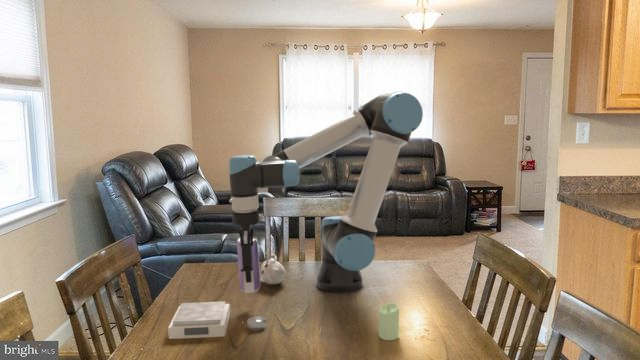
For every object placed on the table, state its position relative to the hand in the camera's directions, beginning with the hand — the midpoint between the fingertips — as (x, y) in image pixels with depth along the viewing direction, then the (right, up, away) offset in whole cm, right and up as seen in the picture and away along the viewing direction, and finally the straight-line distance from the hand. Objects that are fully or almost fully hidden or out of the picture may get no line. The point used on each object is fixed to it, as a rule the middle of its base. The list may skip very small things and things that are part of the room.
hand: (250, 287), depth 140 cm
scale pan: (-12, -5, -11) cm, 17 cm away
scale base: (-12, -8, -10) cm, 17 cm away
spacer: (+3, -8, -11) cm, 14 cm away
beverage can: (0, -1, 0) cm, 1 cm away
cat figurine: (+4, -3, +23) cm, 23 cm away
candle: (+38, -9, -17) cm, 42 cm away
